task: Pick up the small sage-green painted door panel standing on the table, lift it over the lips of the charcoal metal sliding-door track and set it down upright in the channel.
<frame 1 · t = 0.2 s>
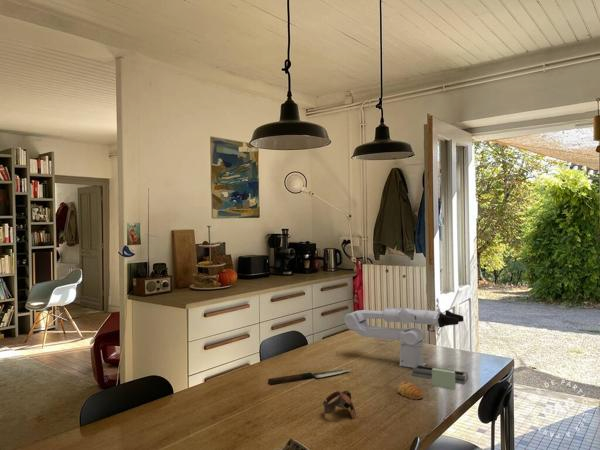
hand: (460, 320, 184), 21 cm above the table, tool horizontal, fingers open, 7 cm apart
brown openwork sculpture: (341, 414, 146), on the table
pastry: (410, 395, 162), on the table
kitchen knife: (312, 379, 181), on the table
door panel: (443, 386, 170), on the table
door track: (439, 376, 180), on the table
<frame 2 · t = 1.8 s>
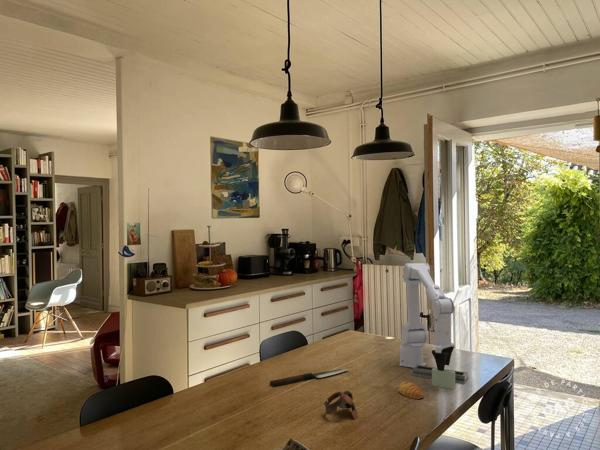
hand: (443, 367, 170), 7 cm above the table, tool pointing down, fingers open, 7 cm apart
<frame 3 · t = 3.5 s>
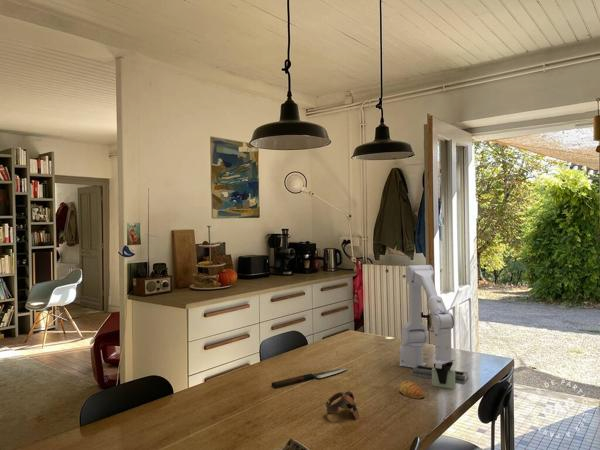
hand: (443, 382, 170), 1 cm above the table, tool pointing down, fingers closed on door panel, 2 cm apart
door panel: (443, 386, 170), on the table, touching gripper
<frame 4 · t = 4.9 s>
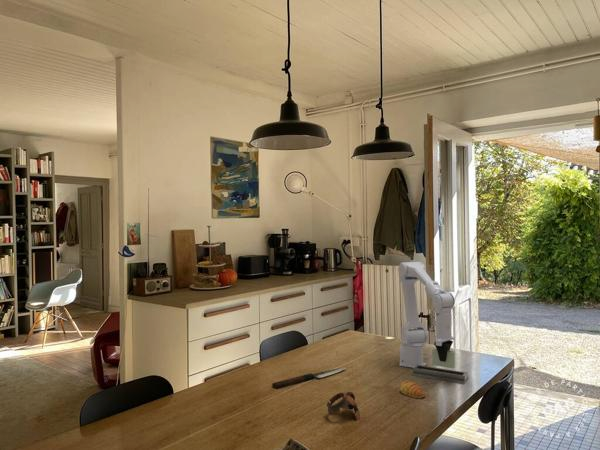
hand: (443, 360, 174), 8 cm above the table, tool pointing down, fingers closed on door panel
door panel: (443, 366, 174), point 6 cm above the table, touching gripper
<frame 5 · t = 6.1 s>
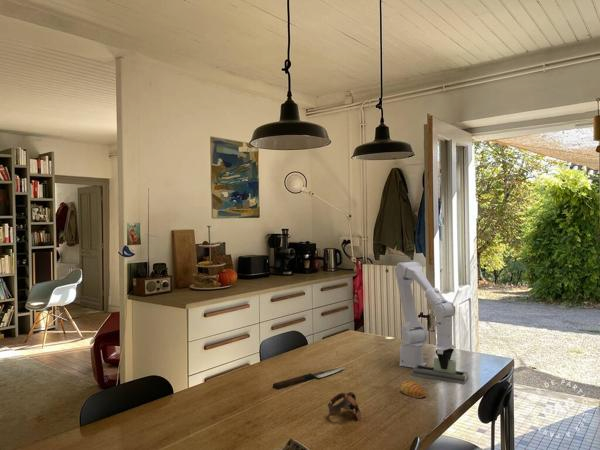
hand: (444, 368, 179), 4 cm above the table, tool pointing down, fingers closed on door panel, 2 cm apart
door panel: (444, 374, 179), point 1 cm above the table, touching door track, gripper
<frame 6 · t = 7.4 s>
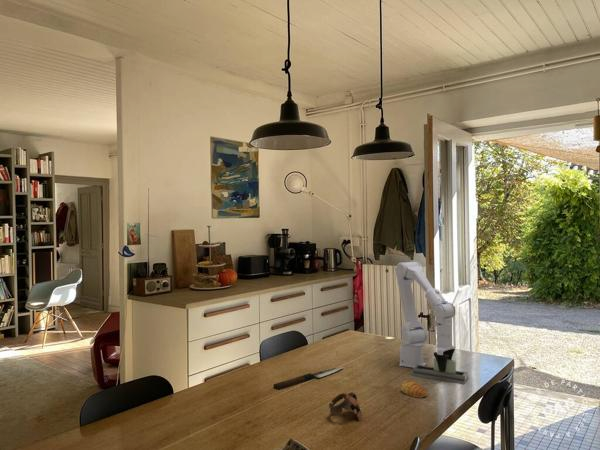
hand: (444, 368, 179), 3 cm above the table, tool pointing down, fingers open, 7 cm apart
door panel: (444, 374, 179), point 1 cm above the table, touching door track
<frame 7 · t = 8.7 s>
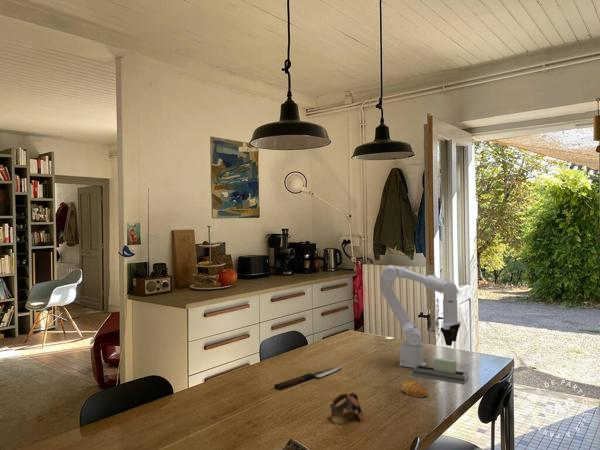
hand: (451, 343, 191), 10 cm above the table, tool pointing down, fingers open, 7 cm apart
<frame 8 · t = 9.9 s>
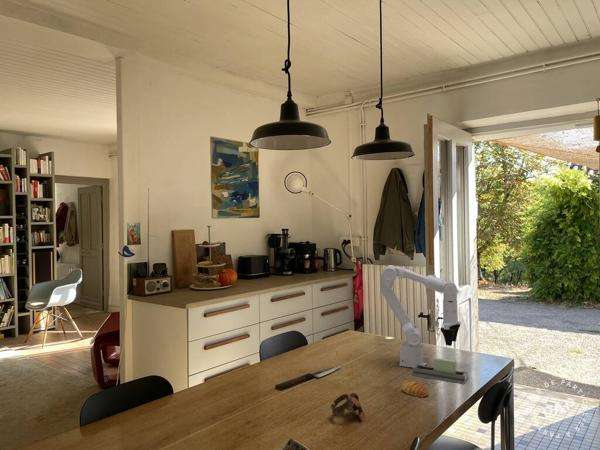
hand: (451, 343, 191), 10 cm above the table, tool pointing down, fingers open, 7 cm apart
at the end: door panel inside the target area on the door track (1.9 cm from its centre), point 1.0 cm above the door track's base; door panel tilted 0°; the gripper is holding nothing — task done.
